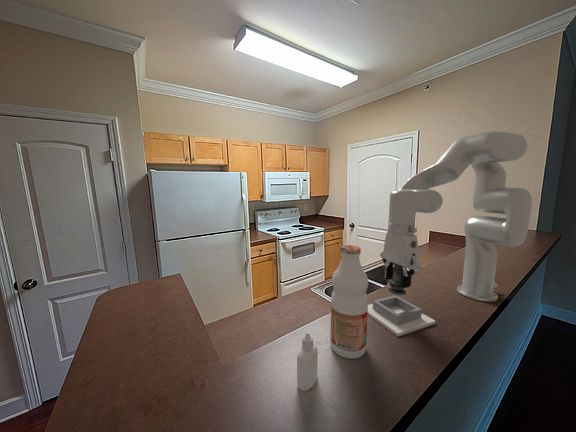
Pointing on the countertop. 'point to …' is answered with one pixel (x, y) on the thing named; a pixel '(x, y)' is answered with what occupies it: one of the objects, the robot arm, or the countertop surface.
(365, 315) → the fruit juice
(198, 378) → the countertop surface
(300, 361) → the eye dropper bottle
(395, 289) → the stone chess piece
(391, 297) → the socket
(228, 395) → the countertop surface
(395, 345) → the countertop surface
